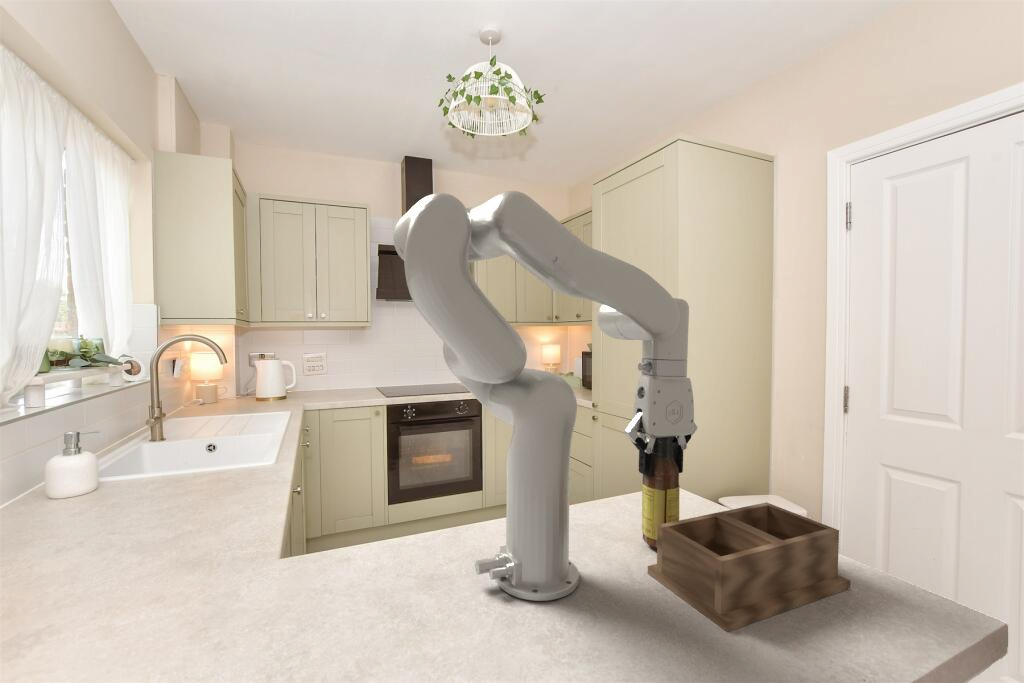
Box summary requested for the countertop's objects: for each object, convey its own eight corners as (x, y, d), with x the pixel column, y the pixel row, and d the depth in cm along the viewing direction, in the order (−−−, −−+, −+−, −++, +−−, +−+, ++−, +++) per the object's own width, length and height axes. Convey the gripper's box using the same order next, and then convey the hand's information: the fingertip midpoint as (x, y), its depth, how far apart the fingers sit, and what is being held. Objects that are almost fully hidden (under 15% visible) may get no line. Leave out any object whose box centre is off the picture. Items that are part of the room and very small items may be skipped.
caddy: (727, 631, 58) (728, 567, 58) (647, 573, 72) (648, 521, 72) (850, 588, 69) (851, 533, 68) (759, 544, 82) (760, 499, 82)
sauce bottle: (673, 536, 84) (678, 427, 84) (682, 552, 78) (688, 435, 78) (636, 533, 85) (641, 425, 84) (643, 549, 78) (648, 432, 78)
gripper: (638, 372, 74) (634, 484, 74) (717, 370, 81) (714, 474, 81) (610, 368, 80) (607, 471, 81) (685, 367, 87) (682, 462, 88)
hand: (660, 471), depth 81 cm, fingers closed on sauce bottle, 5 cm apart
